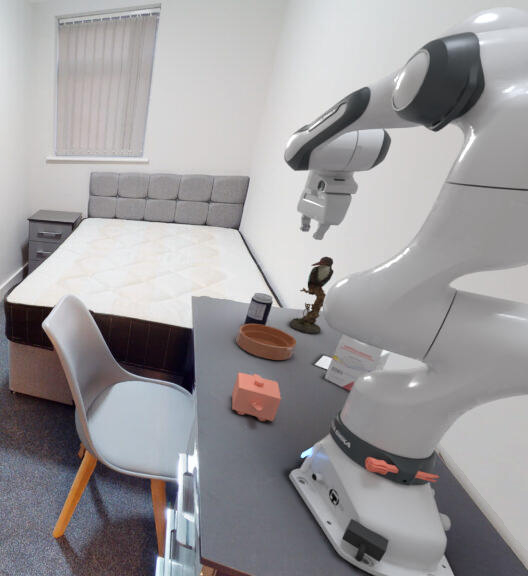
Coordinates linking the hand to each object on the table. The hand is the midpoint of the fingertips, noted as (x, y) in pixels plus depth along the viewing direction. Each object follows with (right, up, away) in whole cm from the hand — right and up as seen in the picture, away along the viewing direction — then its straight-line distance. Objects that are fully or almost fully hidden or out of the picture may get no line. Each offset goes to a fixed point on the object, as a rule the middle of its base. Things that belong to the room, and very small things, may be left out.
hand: (310, 235), depth 100 cm
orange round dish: (-6, -32, +11) cm, 35 cm away
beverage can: (-2, -28, +22) cm, 36 cm away
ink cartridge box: (+5, -39, -5) cm, 40 cm away
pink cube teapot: (-26, -43, -15) cm, 52 cm away
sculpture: (+16, -28, +23) cm, 39 cm away
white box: (+9, -36, +2) cm, 37 cm away
